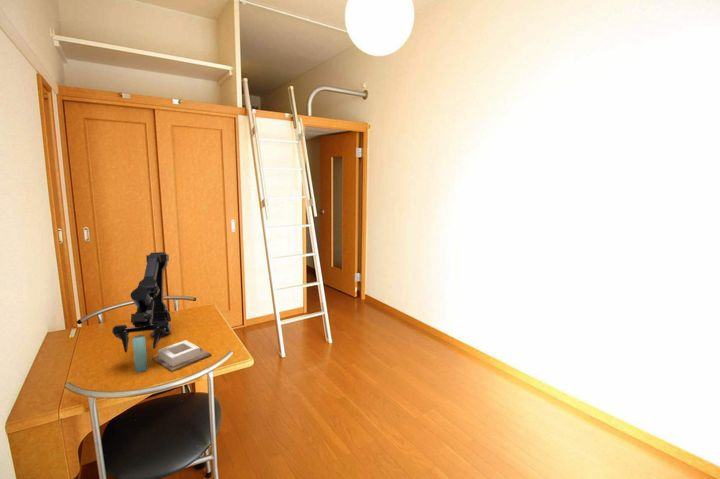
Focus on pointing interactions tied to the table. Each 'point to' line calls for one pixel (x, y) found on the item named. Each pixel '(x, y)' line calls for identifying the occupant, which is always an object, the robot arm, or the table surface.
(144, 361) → the teal peg
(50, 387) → the table surface
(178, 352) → the socket
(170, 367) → the base board
